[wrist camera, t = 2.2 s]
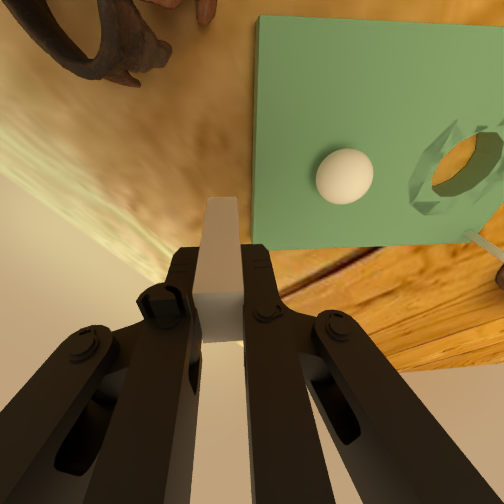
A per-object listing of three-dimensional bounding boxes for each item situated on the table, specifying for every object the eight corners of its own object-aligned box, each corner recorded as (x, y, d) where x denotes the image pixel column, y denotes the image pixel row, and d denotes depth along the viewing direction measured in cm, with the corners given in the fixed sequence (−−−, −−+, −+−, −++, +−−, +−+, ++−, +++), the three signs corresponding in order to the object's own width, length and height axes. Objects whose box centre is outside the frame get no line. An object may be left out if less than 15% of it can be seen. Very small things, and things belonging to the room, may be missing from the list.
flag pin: (415, 218, 25) (556, 327, 14) (454, 217, 26) (618, 322, 15) (412, 224, 26) (545, 333, 15) (450, 223, 26) (606, 328, 15)
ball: (314, 142, 17) (334, 157, 14) (364, 142, 17) (395, 157, 14) (305, 191, 19) (320, 214, 16) (349, 191, 20) (372, 213, 16)
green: (250, 237, 25) (252, 251, 23) (255, 22, 14) (260, 14, 12) (452, 230, 27) (470, 242, 25) (592, 38, 16) (641, 33, 14)
